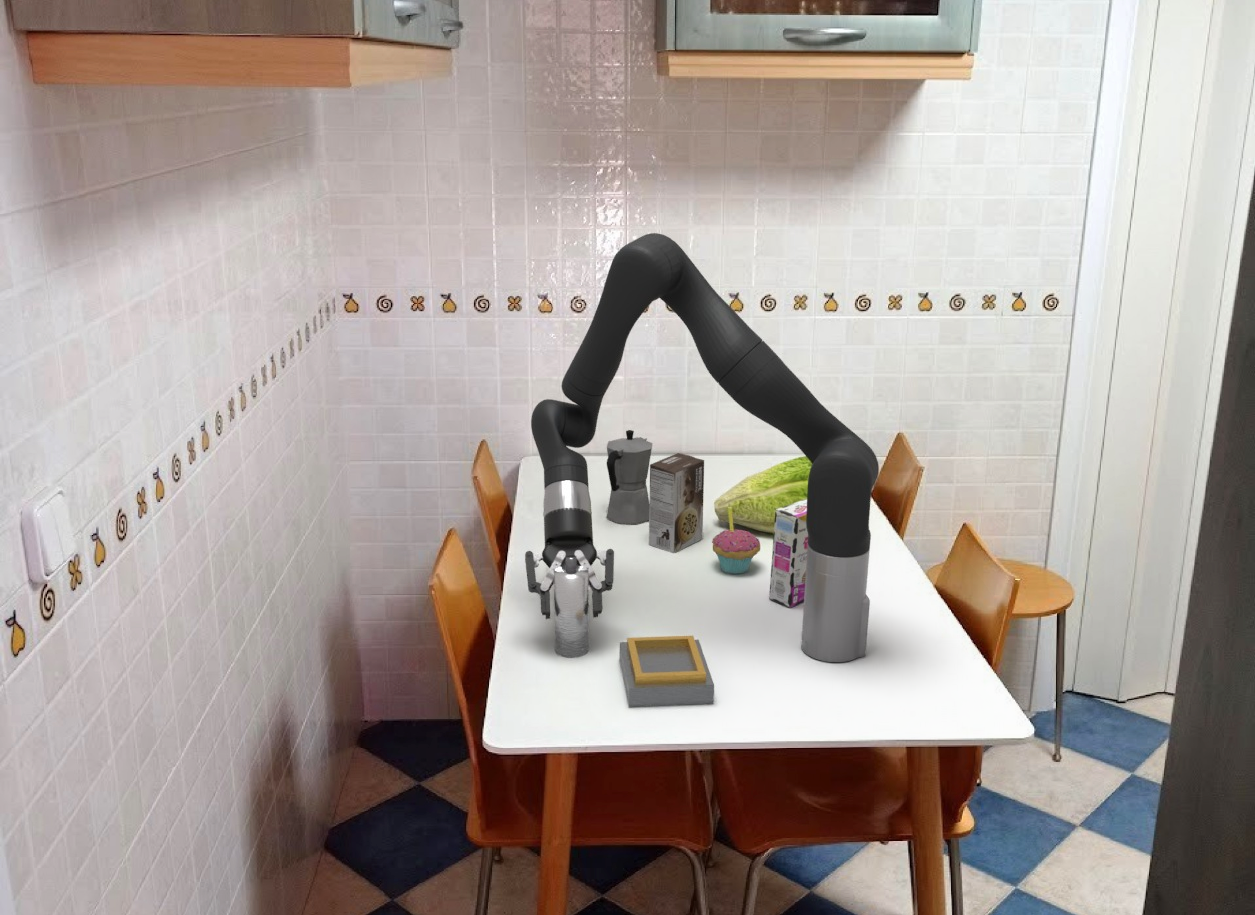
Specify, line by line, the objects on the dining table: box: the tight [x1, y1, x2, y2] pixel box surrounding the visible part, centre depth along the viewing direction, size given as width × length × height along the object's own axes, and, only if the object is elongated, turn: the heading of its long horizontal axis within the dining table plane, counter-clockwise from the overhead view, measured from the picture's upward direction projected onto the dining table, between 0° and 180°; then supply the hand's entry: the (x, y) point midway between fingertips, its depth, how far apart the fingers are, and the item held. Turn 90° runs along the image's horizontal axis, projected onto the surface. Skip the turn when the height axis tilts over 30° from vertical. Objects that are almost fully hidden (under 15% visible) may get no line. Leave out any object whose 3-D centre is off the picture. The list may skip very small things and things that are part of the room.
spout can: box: [553, 555, 590, 659], centre depth 183 cm, size 5×5×15 cm
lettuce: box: [713, 455, 812, 535], centre depth 234 cm, size 15×24×16 cm
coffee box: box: [648, 452, 705, 554], centre depth 224 cm, size 9×6×16 cm
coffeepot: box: [606, 429, 653, 526], centre depth 236 cm, size 15×9×18 cm, turn 153°
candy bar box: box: [768, 499, 808, 608], centre depth 203 cm, size 11×5×16 cm, turn 135°
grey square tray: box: [618, 635, 715, 708], centre depth 175 cm, size 12×14×4 cm
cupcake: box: [711, 503, 761, 575], centre depth 214 cm, size 9×8×12 cm
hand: (572, 616), depth 182 cm, fingers open, 6 cm apart
